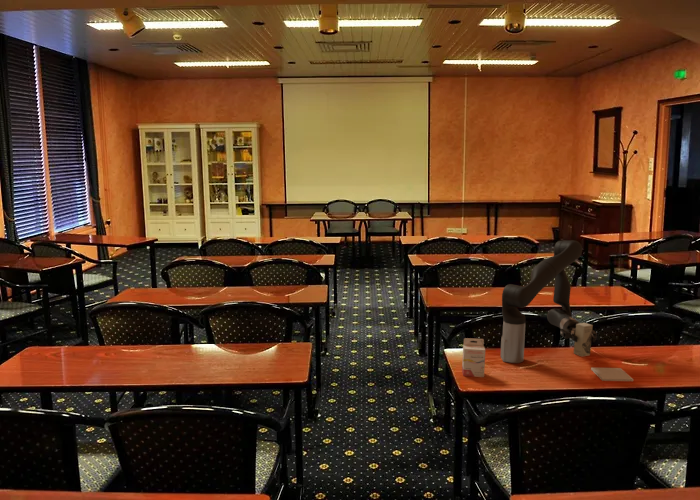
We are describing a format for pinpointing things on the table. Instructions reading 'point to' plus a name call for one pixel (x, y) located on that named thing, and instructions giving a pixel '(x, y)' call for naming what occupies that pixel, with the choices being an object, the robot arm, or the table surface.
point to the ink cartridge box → (473, 358)
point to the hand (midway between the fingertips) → (585, 339)
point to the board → (611, 374)
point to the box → (583, 339)
